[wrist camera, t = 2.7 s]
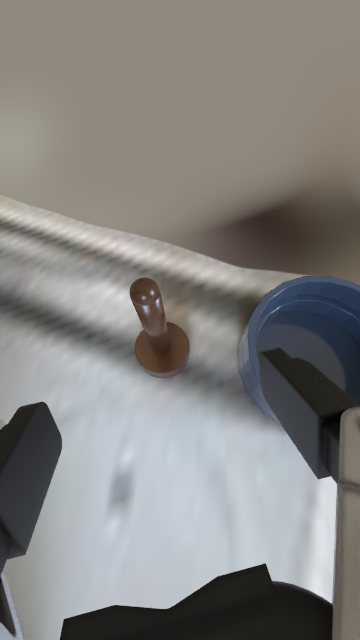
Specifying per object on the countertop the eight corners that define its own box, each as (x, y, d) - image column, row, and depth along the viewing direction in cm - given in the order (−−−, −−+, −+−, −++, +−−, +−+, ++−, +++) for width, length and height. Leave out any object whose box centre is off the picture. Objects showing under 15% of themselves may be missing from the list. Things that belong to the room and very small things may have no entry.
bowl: (242, 434, 24) (255, 434, 19) (233, 303, 29) (242, 276, 24) (393, 438, 24) (448, 438, 19) (357, 303, 29) (393, 275, 24)
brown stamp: (136, 377, 27) (90, 327, 14) (140, 328, 29) (103, 247, 16) (189, 378, 26) (187, 327, 14) (189, 328, 28) (188, 247, 16)
